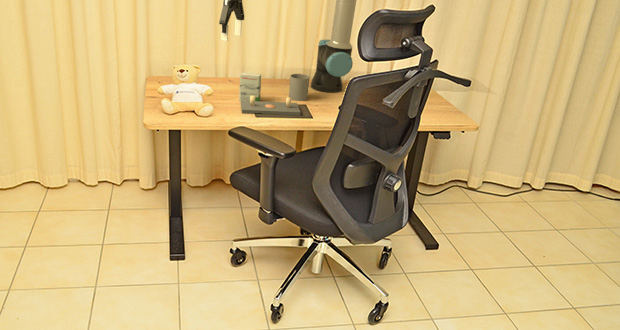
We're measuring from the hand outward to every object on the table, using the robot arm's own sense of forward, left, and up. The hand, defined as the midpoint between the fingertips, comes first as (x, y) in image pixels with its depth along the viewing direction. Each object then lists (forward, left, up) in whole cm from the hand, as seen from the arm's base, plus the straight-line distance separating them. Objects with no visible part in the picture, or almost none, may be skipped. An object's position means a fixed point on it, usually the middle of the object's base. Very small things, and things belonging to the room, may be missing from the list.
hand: (231, 37), depth 257 cm
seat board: (-17, +20, -25) cm, 36 cm away
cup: (-31, +2, -25) cm, 40 cm away
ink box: (-9, +9, -25) cm, 28 cm away
